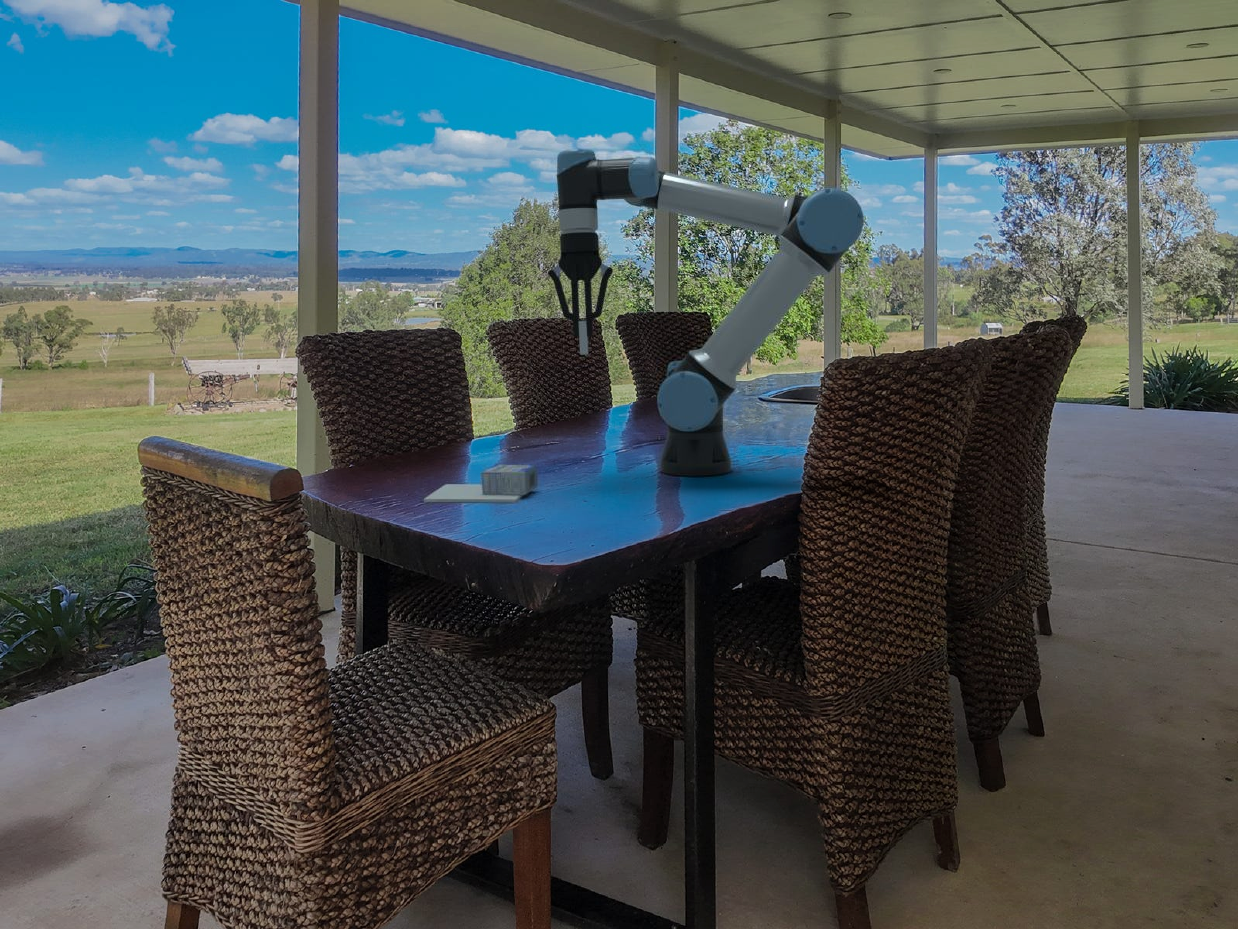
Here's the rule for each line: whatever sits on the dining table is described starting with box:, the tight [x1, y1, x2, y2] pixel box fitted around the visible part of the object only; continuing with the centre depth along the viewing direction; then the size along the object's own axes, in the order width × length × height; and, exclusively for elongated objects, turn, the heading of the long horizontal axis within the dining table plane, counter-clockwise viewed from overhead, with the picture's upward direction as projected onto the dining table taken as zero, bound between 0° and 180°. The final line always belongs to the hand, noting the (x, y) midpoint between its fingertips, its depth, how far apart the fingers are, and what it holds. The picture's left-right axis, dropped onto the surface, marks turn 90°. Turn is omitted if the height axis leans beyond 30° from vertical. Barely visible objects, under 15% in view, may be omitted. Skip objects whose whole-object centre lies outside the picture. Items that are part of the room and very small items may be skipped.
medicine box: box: [481, 464, 538, 496], centre depth 191 cm, size 8×4×9 cm
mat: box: [423, 483, 524, 504], centre depth 192 cm, size 17×15×1 cm
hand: (584, 354), depth 202 cm, fingers closed
